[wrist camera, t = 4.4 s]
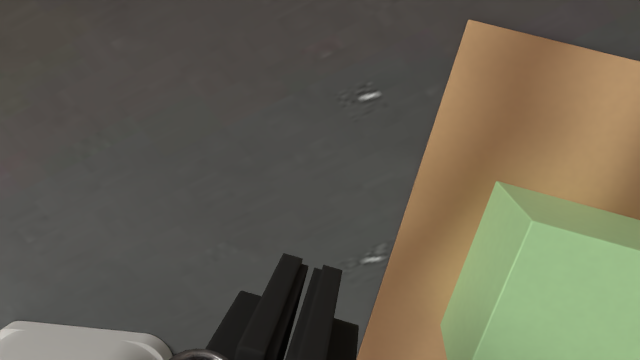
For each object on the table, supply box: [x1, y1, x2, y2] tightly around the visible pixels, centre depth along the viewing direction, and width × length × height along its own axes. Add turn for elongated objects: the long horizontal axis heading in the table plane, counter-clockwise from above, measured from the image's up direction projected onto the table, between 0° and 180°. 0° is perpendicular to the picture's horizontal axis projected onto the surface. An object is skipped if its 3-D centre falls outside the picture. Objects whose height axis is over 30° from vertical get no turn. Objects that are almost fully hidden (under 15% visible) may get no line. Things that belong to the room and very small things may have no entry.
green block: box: [440, 181, 640, 360], centre depth 16 cm, size 7×7×4 cm
